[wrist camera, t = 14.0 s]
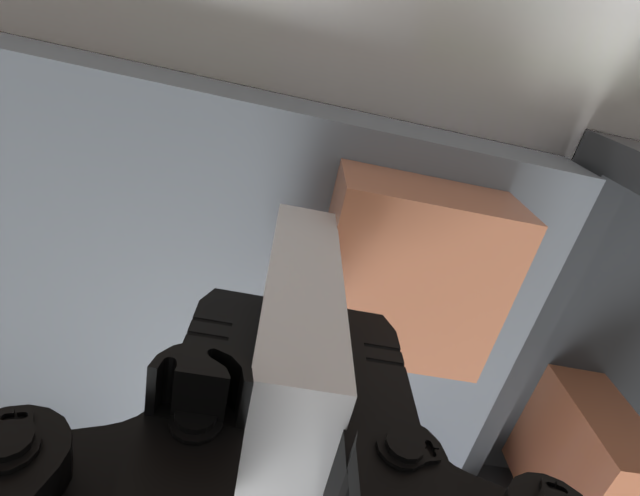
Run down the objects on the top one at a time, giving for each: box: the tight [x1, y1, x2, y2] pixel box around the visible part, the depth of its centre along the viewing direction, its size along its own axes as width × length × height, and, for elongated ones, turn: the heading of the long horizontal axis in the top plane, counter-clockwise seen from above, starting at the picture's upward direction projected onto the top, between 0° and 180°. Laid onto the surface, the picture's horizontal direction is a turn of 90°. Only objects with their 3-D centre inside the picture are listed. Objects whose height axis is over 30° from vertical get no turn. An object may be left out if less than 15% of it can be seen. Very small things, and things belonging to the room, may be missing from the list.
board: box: [0, 32, 606, 469], centre depth 17 cm, size 22×14×2 cm, turn 78°
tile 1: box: [502, 364, 640, 496], centre depth 18 cm, size 5×5×2 cm
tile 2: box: [328, 158, 548, 383], centre depth 13 cm, size 5×5×2 cm
